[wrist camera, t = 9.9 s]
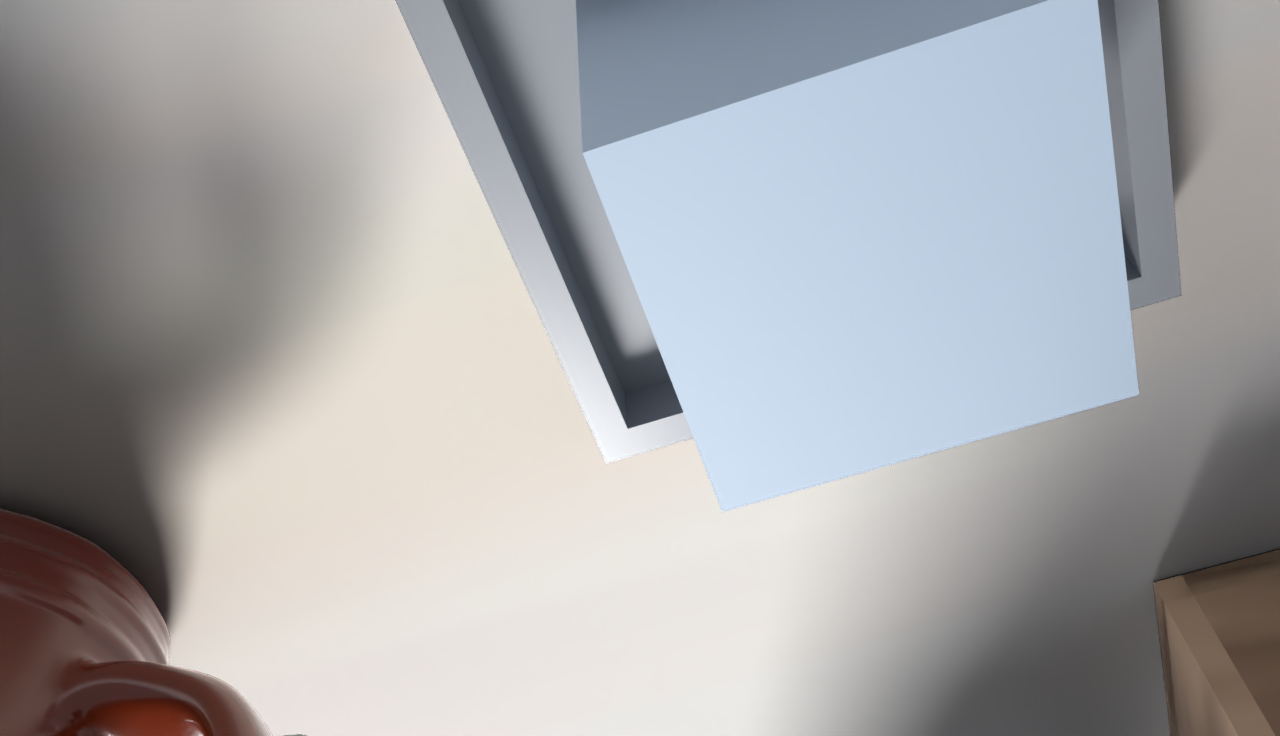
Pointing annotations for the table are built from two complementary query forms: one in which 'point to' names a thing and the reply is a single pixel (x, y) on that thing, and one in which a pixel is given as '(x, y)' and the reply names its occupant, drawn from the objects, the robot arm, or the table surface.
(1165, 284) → the tray
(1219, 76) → the table surface
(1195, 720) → the open wooden cubby box
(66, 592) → the mug
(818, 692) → the table surface
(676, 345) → the blue-gray cube
